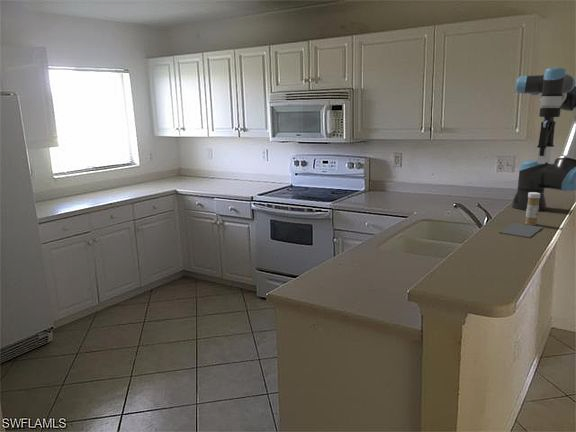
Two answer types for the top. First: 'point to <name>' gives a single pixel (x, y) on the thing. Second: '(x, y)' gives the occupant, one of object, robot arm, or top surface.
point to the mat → (521, 230)
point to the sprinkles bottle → (532, 208)
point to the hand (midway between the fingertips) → (543, 162)
